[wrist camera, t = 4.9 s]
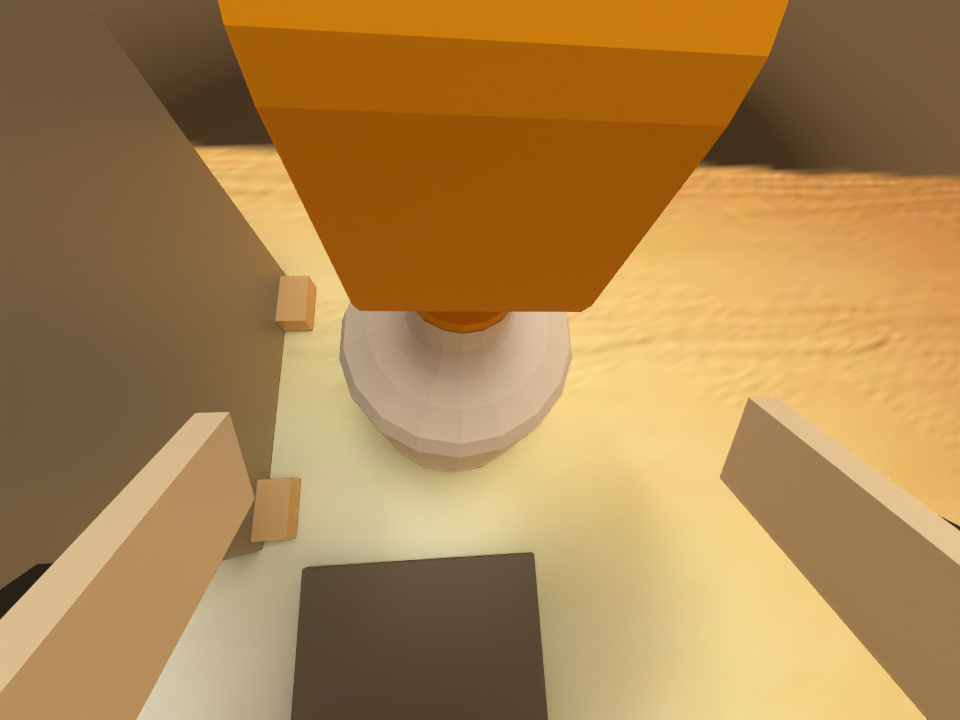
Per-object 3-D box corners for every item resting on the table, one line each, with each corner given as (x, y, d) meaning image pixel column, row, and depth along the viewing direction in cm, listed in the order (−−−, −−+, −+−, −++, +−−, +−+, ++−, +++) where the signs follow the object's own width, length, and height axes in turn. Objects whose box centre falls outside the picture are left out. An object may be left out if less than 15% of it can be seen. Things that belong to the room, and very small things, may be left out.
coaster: (285, 869, 18) (278, 885, 17) (307, 567, 22) (302, 569, 21) (554, 835, 19) (558, 849, 18) (531, 552, 23) (534, 554, 22)
